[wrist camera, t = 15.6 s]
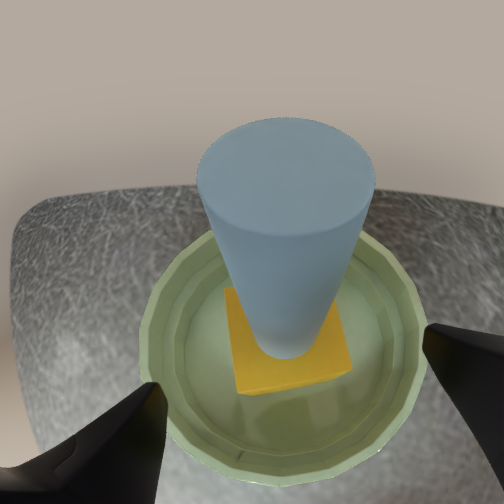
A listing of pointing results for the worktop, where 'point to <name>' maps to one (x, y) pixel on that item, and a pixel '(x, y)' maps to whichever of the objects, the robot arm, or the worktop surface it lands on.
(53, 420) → the worktop surface
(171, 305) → the bowl
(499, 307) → the worktop surface
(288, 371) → the sponge wand
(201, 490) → the worktop surface
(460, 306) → the worktop surface
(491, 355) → the robot arm
